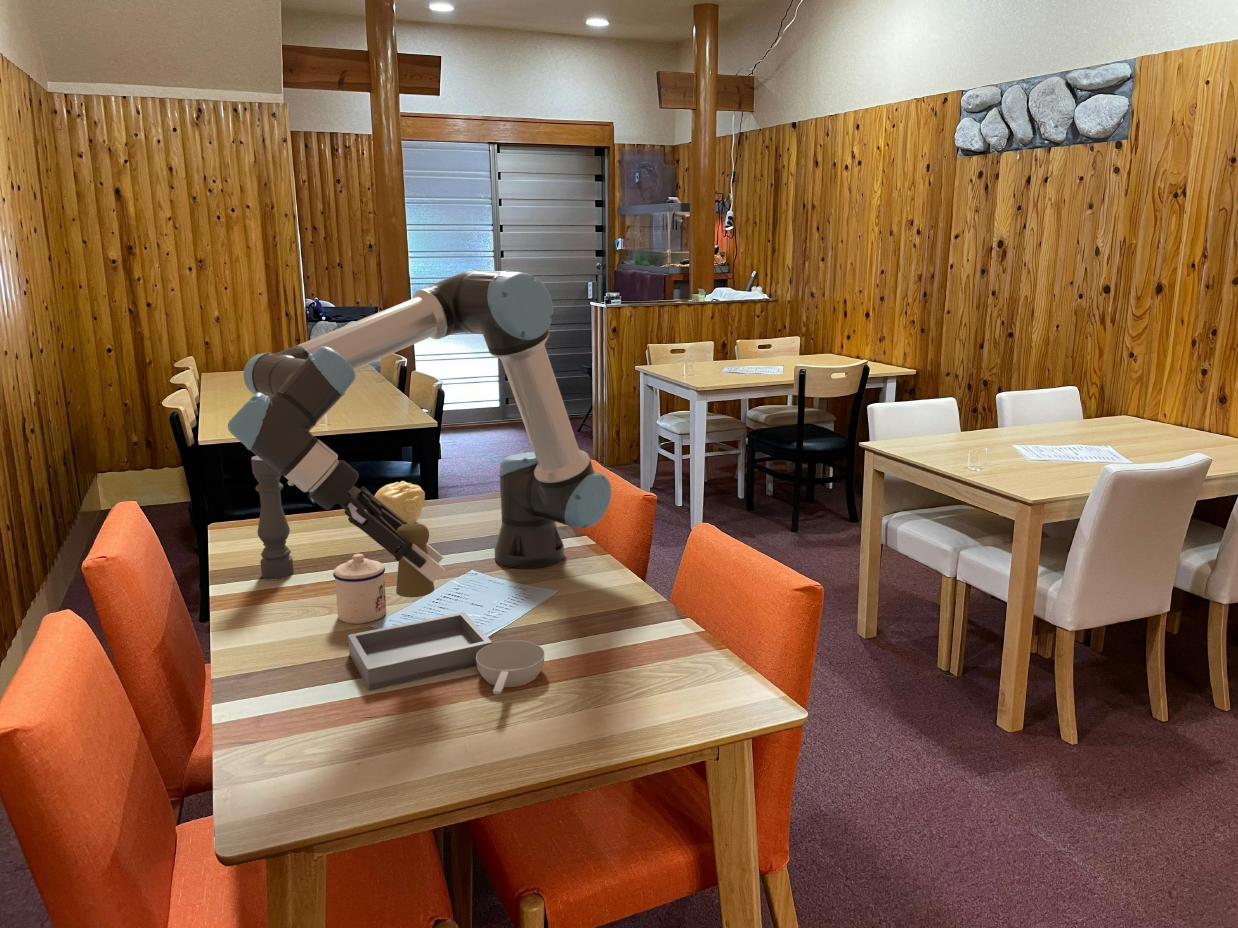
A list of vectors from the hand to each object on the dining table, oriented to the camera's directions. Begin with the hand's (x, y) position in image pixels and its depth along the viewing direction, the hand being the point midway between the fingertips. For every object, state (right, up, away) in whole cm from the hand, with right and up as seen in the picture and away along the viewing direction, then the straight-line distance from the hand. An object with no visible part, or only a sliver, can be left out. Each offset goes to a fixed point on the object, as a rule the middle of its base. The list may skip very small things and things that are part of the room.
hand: (438, 569), depth 142 cm
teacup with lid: (-18, -11, +22) cm, 30 cm away
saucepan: (+12, -18, -6) cm, 22 cm away
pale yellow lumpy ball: (-25, +2, +74) cm, 78 cm away
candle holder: (-41, -6, +40) cm, 58 cm away
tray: (-3, -15, +3) cm, 16 cm away
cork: (-4, -4, 0) cm, 5 cm away
